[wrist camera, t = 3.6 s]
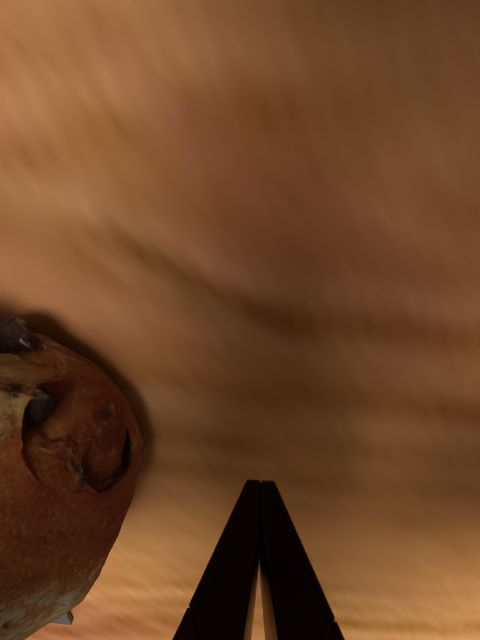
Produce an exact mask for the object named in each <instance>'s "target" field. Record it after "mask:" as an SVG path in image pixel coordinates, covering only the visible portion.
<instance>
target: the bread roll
mask: <svg viewBox="0 0 480 640" xmlns="http://www.w3.org/2000/svg"><path fill="white" fill-rule="evenodd" d="M26 324H27V323H26V321H24V320H21V319H19V318H17V317H15V316H14V317H11V318H8V319H6V320H3V321H2V322H0V640H25V639H26V638H28V637H29V636H31V635H32V634H33V633H35V632H36V631H37V630H39V629H40V628H41V627H43V626H45V625H47V624H49V623H51V622H53V621H55V620H57V619H59V618H60V617H62V616H63V615H65V614H66V613H67V612H69V611H70V610H71V609H73V608H74V607H75V606H77V605H78V604H79V603H80V602H82V601H83V600H84V598H85V597H86V595H87V594H88V592H89V590H90V589H91V587H92V586H93V584H94V582H95V581H96V580H97V578H98V577H99V575H100V572H101V570H102V567H103V566H104V564H105V561H106V559H107V557H108V554H109V552H110V550H111V548H112V546H113V545H114V543H115V541H116V539H117V537H118V535H119V532H120V529H121V526H122V523H123V521H124V518H125V515H126V512H127V510H128V508H129V506H130V504H131V501H132V499H133V494H134V489H135V484H136V480H137V477H138V474H139V471H140V467H141V463H142V458H143V451H144V445H145V444H144V441H143V438H142V435H141V432H140V429H139V427H138V423H137V420H136V418H135V415H134V413H133V410H132V408H131V405H130V403H129V401H128V399H127V397H126V396H125V395H124V393H123V392H122V391H121V390H120V388H119V387H118V386H117V385H116V384H115V382H114V381H113V380H112V379H111V378H110V377H109V376H108V375H107V374H106V373H105V372H104V371H103V370H102V369H101V368H100V367H99V366H98V365H97V364H95V363H94V362H92V361H90V360H88V359H87V358H85V357H83V356H81V355H79V354H77V353H75V352H74V351H72V350H70V349H68V348H66V347H64V346H62V345H60V344H59V343H57V342H56V341H54V340H53V339H52V338H50V337H49V336H46V335H44V334H41V333H33V332H31V331H29V330H28V329H27V328H26V327H25V326H26Z"/></svg>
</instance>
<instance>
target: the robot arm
mask: <svg viewBox="0 0 480 640" xmlns="http://www.w3.org/2000/svg"><path fill="white" fill-rule="evenodd" d="M259 568H260V583H261V594H262V606H263V618H264V629H265V640H345V639H344V637H343V635H342V632H341V630H340V628H339V626H338V623H337V622H336V621H335V617H334V615H333V612H332V610H331V608H330V606H329V603H328V601H327V599H326V596H325V594H324V592H323V590H322V587H321V585H320V583H319V581H318V578H317V576H316V574H315V572H314V569H313V567H312V565H311V563H310V560H309V558H308V556H307V554H306V551H305V549H304V547H303V544H302V542H301V540H300V538H299V535H298V533H297V531H296V529H295V526H294V524H293V522H292V520H291V517H290V515H289V513H288V511H287V508H286V506H285V504H284V502H283V499H282V497H281V495H280V492H279V490H278V488H277V486H276V484H275V482H274V481H269V480H262V481H261V484H260V481H259V480H252V479H248V480H247V481H246V482H245V485H244V487H243V489H242V491H241V493H240V495H239V498H238V500H237V502H236V504H235V506H234V508H233V511H232V513H231V515H230V517H229V519H228V521H227V524H226V526H225V528H224V530H223V532H222V534H221V537H220V539H219V541H218V543H217V545H216V547H215V550H214V552H213V554H212V556H211V558H210V560H209V562H208V565H207V567H206V569H205V571H204V573H203V575H202V578H201V580H200V582H199V584H198V586H197V588H196V591H195V593H194V595H193V597H192V599H191V601H190V604H189V608H187V610H186V612H185V614H184V616H183V618H182V621H181V623H180V625H179V627H178V629H177V631H176V633H175V635H174V637H173V639H172V640H251V634H252V625H253V616H254V607H255V598H256V589H257V580H258V570H259ZM334 621H335V622H334Z"/></svg>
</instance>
